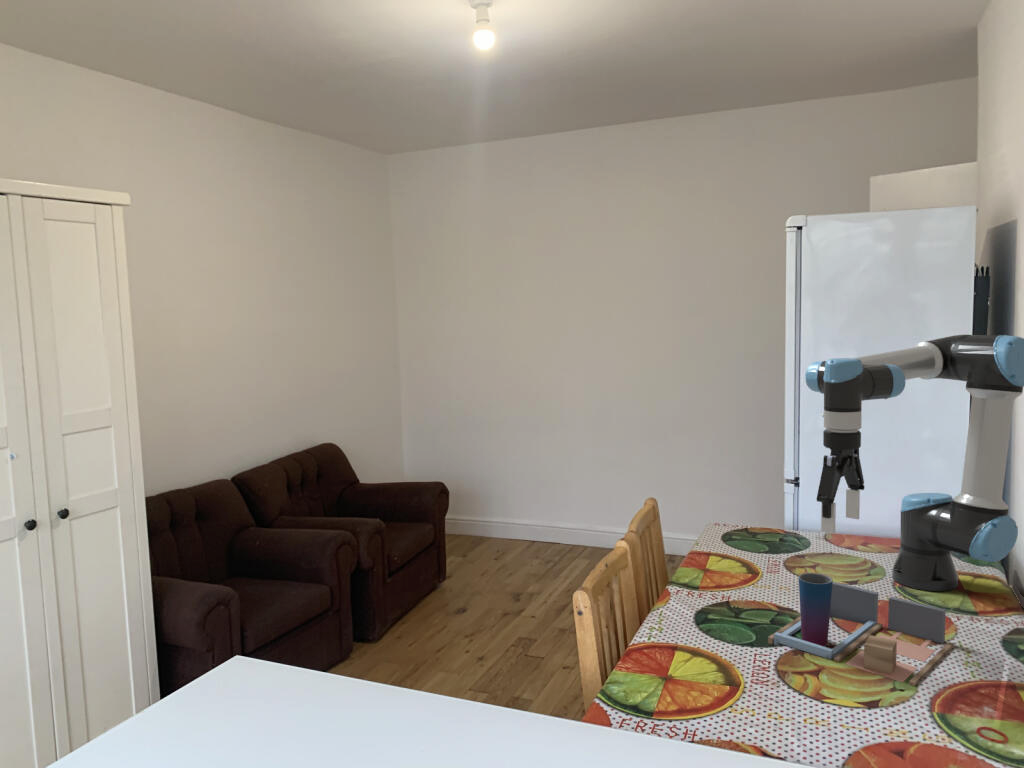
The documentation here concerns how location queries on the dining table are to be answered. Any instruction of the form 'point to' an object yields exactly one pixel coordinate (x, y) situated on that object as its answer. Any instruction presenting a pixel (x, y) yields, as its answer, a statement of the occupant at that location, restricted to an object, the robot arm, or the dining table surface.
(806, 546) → the dining table surface
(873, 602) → the frame
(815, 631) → the cup
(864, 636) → the lane guides
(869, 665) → the walnut cube
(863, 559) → the dining table surface
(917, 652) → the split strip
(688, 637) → the dining table surface
